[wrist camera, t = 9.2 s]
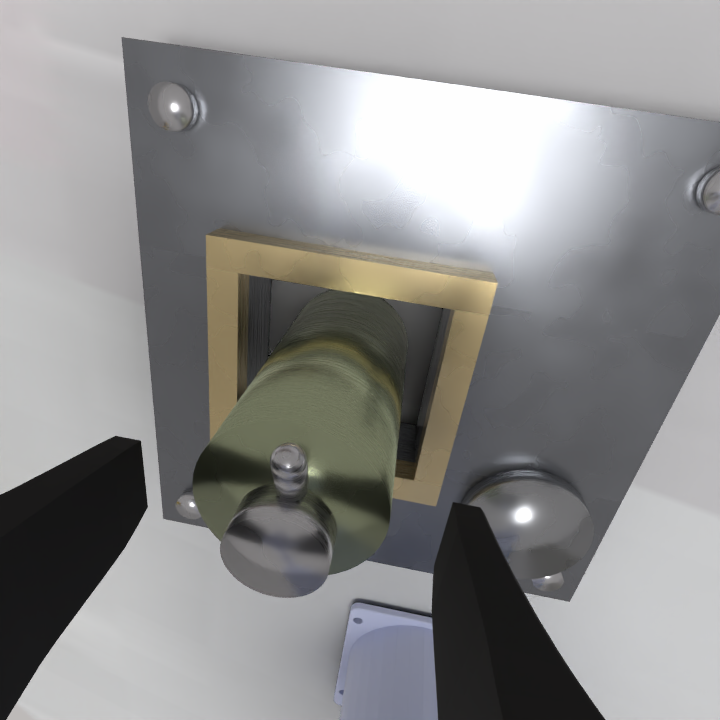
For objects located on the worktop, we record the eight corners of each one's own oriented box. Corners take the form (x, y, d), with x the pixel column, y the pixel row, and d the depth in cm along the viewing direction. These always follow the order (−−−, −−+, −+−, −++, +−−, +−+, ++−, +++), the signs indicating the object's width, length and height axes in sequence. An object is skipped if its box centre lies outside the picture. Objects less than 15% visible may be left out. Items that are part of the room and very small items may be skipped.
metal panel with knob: (555, 553, 22) (576, 624, 19) (188, 481, 23) (151, 535, 20) (751, 134, 14) (844, 135, 11) (167, 50, 15) (98, 29, 12)
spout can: (394, 404, 20) (362, 643, 10) (287, 379, 20) (166, 595, 11) (420, 299, 17) (410, 487, 8) (301, 273, 18) (163, 429, 8)
